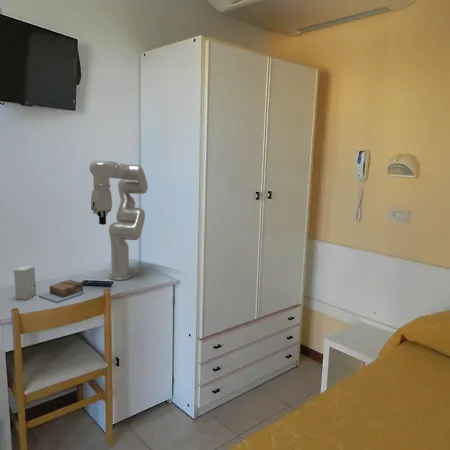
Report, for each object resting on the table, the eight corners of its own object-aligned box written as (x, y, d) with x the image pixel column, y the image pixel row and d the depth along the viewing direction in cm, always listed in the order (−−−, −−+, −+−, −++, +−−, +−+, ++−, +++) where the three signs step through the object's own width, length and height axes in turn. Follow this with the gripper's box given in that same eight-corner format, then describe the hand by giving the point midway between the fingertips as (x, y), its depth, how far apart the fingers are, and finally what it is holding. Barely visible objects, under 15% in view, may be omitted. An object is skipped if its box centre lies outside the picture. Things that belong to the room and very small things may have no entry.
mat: (64, 288, 220) (64, 287, 220) (83, 294, 213) (83, 292, 213) (39, 296, 207) (38, 295, 207) (57, 303, 200) (57, 301, 200)
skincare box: (26, 300, 203) (24, 270, 200) (15, 299, 203) (13, 269, 201) (36, 294, 211) (35, 265, 208) (25, 293, 212) (23, 264, 209)
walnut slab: (69, 279, 219) (49, 285, 209) (82, 283, 214) (62, 289, 204) (70, 286, 220) (49, 293, 210) (83, 290, 215) (63, 297, 205)
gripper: (107, 185, 216) (108, 221, 220) (84, 188, 204) (85, 225, 207) (118, 187, 212) (119, 223, 216) (94, 189, 200) (96, 227, 203)
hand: (102, 224), depth 211 cm, fingers closed
